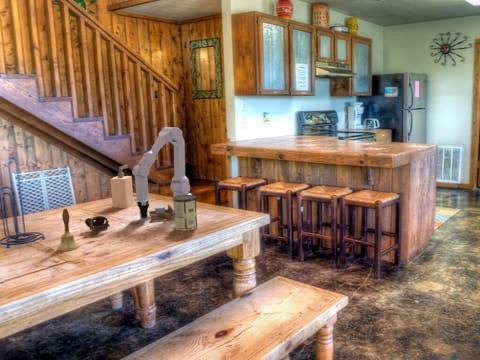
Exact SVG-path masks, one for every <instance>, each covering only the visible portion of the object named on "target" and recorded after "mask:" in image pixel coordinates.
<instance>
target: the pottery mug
mask: <svg viewBox="0 0 480 360" xmlns="http://www.w3.org/2000/svg"><path fill="white" fill-rule="evenodd" d="M109 223H110V220H109V219H108V218H107V217H106V216H104V215H95V216H94V217H92V218H89V217H88V218H86V219H85V221H84V224H85V225H86V227H88V228H89V230H90V231H91V234H92V235H93V236H96V234H98V233H101V232H104V231H105V230H108V228H109V227H111V225H110V224H109Z"/></svg>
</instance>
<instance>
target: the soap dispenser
mask: <svg viewBox="0 0 480 360" xmlns="http://www.w3.org/2000/svg"><path fill="white" fill-rule="evenodd" d="M128 168H129V165H128V164H125V165H122V166H118V173H117V176H114V177H112V178H110V179H109V180H110V191H111V204H112V208H113V209H116V208H117V209H128V208H130V207H131V206H133V205H134V194H133V193H134V192H133V190H134V189H133V181H132V180H133V178H132V175H130V176H129V175H126V176H125V173H124V172H123V170H125V169H128Z"/></svg>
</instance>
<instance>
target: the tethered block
mask: <svg viewBox="0 0 480 360" xmlns="http://www.w3.org/2000/svg"><path fill="white" fill-rule="evenodd" d="M154 208H155V209H154V210H155V213H156V214H162V213H165V209H166V207H165V205H158V206H154ZM139 217H140V221H141V222H142V221H148V220H149V219H151V216H150V215H148V212H147V217H146V218H142V216H141V212H140V211H139Z"/></svg>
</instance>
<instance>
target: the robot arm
mask: <svg viewBox="0 0 480 360" xmlns="http://www.w3.org/2000/svg"><path fill="white" fill-rule="evenodd" d="M167 143H170V144H172V145H173V169H174V170H173V171H174V172H173V173H174V175H173V176H172V178H171V182H170V186H169V188H170V190H171V192H172V194H173V197H175V196H180V195H192V193H190V191H191V185H190V180H189V178H188V177H187V176H186V156H185V155H186V149H185V148H186V147H185V145H186V143H185V139H184V137H183V130H182V129H181V128H179V127H177V126H174V127H173V126H172V127H171V126H164V127H162V128H161V130H160V131H159V132H158V137H157V138H156V140H155V141H154V144H153V145H152V147H151V149H150V150H149V151H146V152H145V153H143V154H142V158H141V159H140V161H138V162H137V163H138V164H137V165H134V166H133V168H132V170H131V172H132V175H133V176H134V181H135V182H134V184H135V192H136V198H133V202H136V201H137V202H136V204H137V207H138V209H139V213H140V212H141V216H142V218H146V217H147V213H148V211H149V210H148V209H149V207H150V203H149V200H150V197H149V184H148V181H149V180H148V175H149V174H150V172H151V171H150V169H151V167H152V166H153V164H154V162H155V161H156V160H157V155H158V153H159V152H160V150H161V149H162V148H163V147H164V145H165V144H167ZM172 209H173V211H174V208H172Z"/></svg>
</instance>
